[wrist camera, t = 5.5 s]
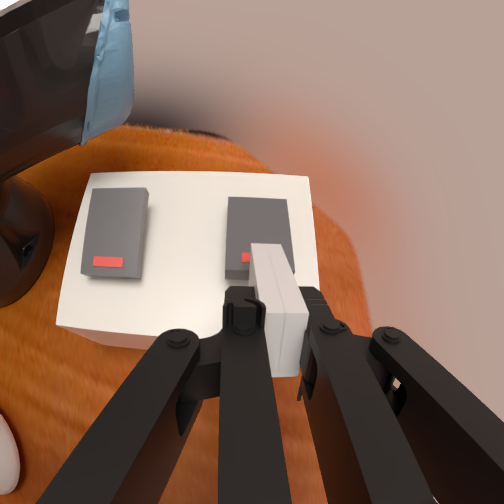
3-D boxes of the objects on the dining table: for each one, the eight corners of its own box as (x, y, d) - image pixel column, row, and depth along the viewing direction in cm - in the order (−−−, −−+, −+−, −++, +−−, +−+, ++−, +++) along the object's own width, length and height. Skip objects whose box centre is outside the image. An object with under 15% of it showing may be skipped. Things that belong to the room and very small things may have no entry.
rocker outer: (291, 281, 18) (295, 270, 17) (224, 279, 18) (225, 268, 17) (284, 209, 21) (286, 198, 20) (227, 207, 21) (228, 195, 20)
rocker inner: (140, 279, 18) (135, 276, 17) (86, 275, 18) (79, 273, 17) (149, 193, 20) (145, 186, 19) (97, 194, 19) (91, 187, 18)
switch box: (292, 354, 26) (324, 338, 18) (103, 345, 25) (52, 323, 17) (287, 230, 31) (309, 171, 23) (120, 225, 30) (90, 168, 22)
